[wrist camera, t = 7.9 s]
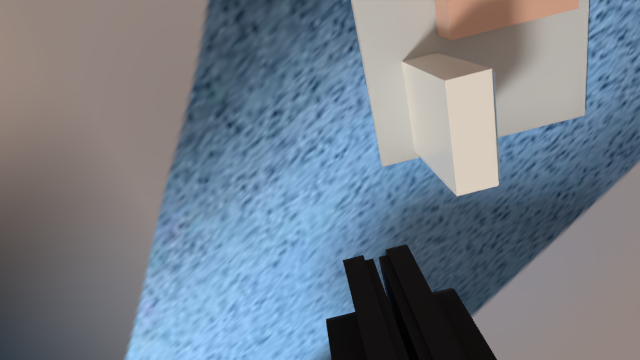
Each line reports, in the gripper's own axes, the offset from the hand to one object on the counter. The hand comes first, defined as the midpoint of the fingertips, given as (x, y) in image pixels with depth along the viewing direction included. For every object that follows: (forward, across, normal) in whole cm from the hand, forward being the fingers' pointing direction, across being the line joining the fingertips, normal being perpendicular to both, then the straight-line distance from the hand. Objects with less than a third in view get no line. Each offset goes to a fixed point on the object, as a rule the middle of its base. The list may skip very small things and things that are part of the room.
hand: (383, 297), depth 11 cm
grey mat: (+17, -10, -3) cm, 20 cm away
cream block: (+17, -7, +1) cm, 18 cm away
